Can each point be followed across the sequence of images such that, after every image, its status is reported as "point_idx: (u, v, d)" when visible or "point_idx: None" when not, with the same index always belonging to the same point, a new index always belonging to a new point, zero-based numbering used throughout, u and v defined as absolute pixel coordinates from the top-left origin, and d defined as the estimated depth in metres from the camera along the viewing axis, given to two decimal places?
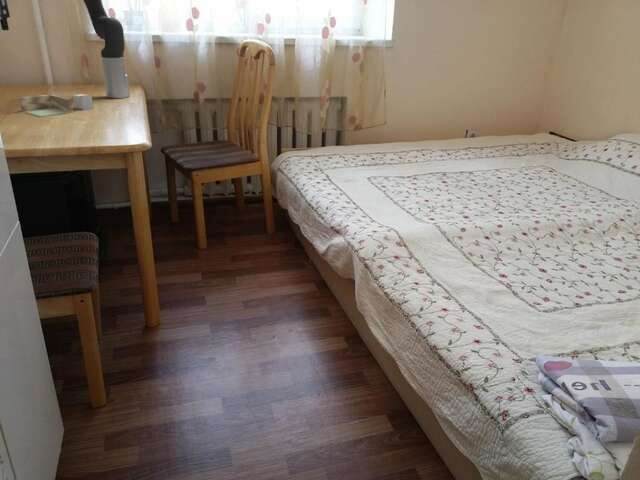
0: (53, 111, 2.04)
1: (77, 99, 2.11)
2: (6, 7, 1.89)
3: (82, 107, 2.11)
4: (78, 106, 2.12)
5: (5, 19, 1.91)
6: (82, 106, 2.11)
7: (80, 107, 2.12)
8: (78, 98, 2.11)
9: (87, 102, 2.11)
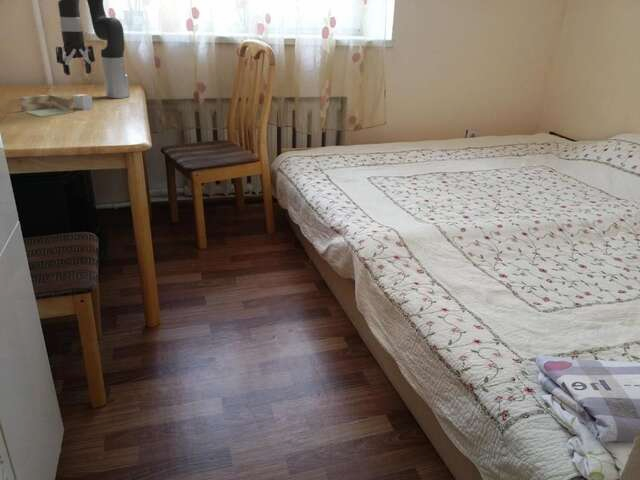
0: (53, 111, 2.04)
1: (77, 99, 2.11)
2: None
3: (82, 107, 2.11)
4: (78, 106, 2.12)
5: None
6: (82, 106, 2.11)
7: (80, 107, 2.12)
8: (78, 98, 2.11)
9: (87, 102, 2.11)
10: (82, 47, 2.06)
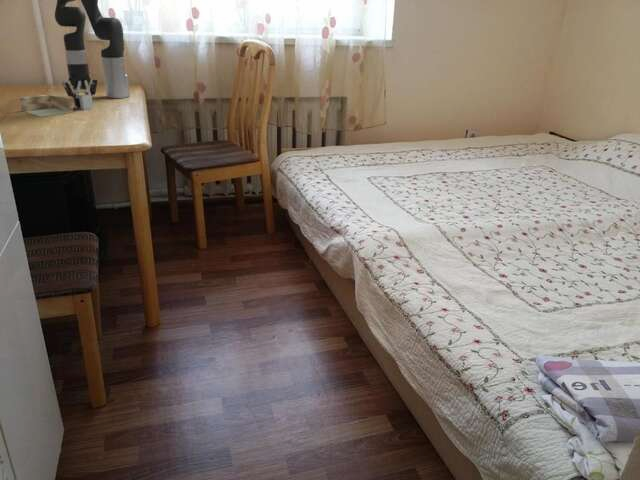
0: (53, 111, 2.04)
1: None
2: None
3: (82, 107, 2.11)
4: None
5: None
6: (82, 106, 2.11)
7: (80, 107, 2.12)
8: None
9: (87, 102, 2.11)
10: (87, 78, 2.11)
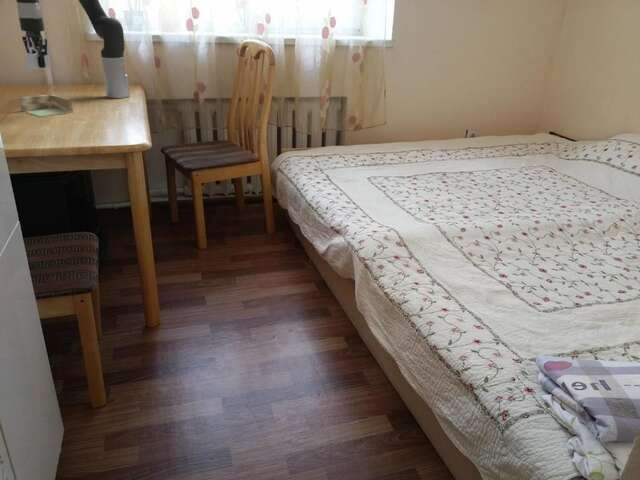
0: (53, 111, 2.04)
1: None
2: None
3: (48, 65, 1.97)
4: None
5: None
6: (48, 64, 1.97)
7: None
8: None
9: None
10: None
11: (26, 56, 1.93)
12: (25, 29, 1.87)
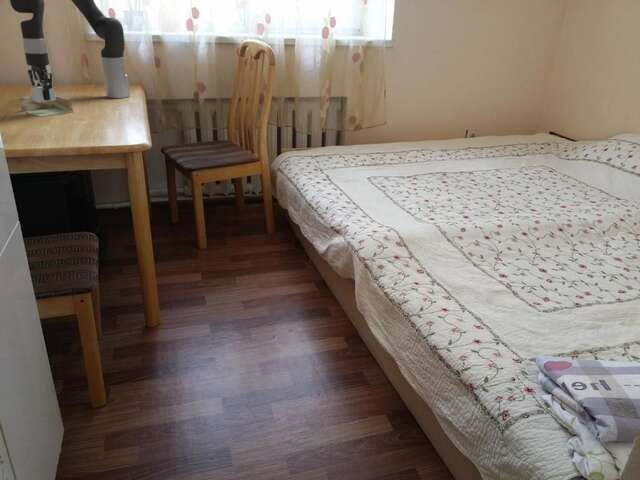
0: (53, 111, 2.04)
1: None
2: None
3: (53, 98, 2.02)
4: None
5: None
6: (53, 97, 2.01)
7: None
8: None
9: None
10: None
11: (31, 89, 1.97)
12: (31, 64, 1.92)
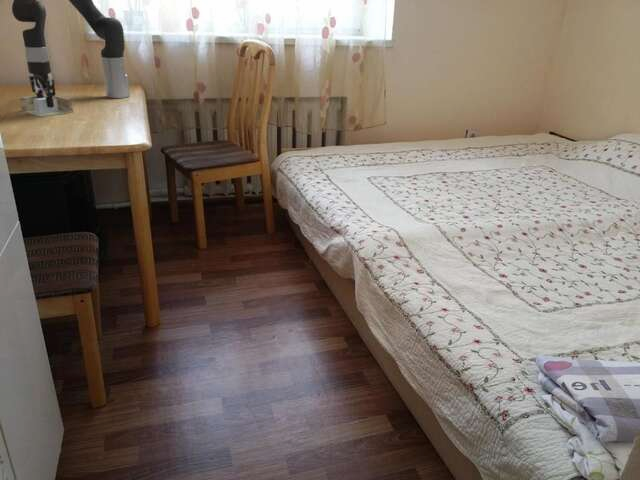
0: None
1: (46, 102, 2.00)
2: None
3: (55, 109, 2.03)
4: (48, 110, 2.01)
5: None
6: (55, 108, 2.03)
7: (51, 111, 2.02)
8: None
9: None
10: None
11: (34, 101, 1.99)
12: (33, 72, 1.93)
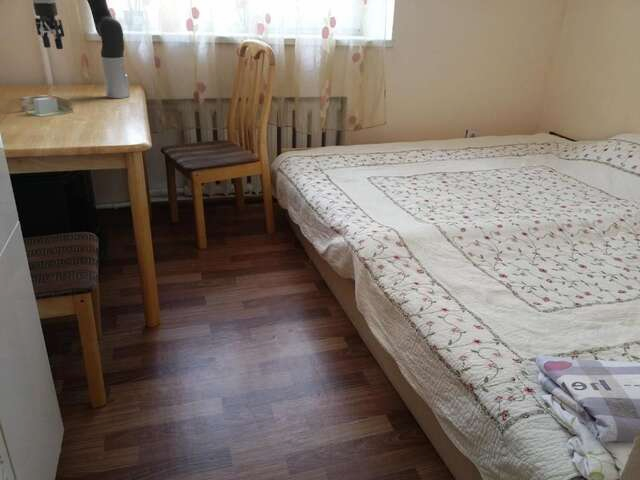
0: None
1: (46, 102, 2.00)
2: None
3: (55, 109, 2.03)
4: (48, 110, 2.01)
5: None
6: (55, 108, 2.03)
7: (51, 111, 2.02)
8: (49, 101, 2.01)
9: None
10: None
11: (34, 101, 1.99)
12: (40, 14, 1.93)
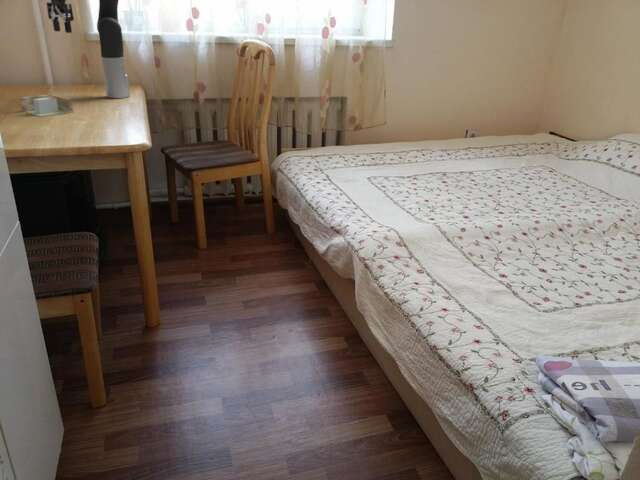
0: None
1: (46, 102, 2.00)
2: None
3: (55, 109, 2.03)
4: (48, 110, 2.01)
5: None
6: (55, 108, 2.03)
7: (51, 111, 2.02)
8: (49, 101, 2.01)
9: None
10: None
11: (34, 101, 1.99)
12: None
